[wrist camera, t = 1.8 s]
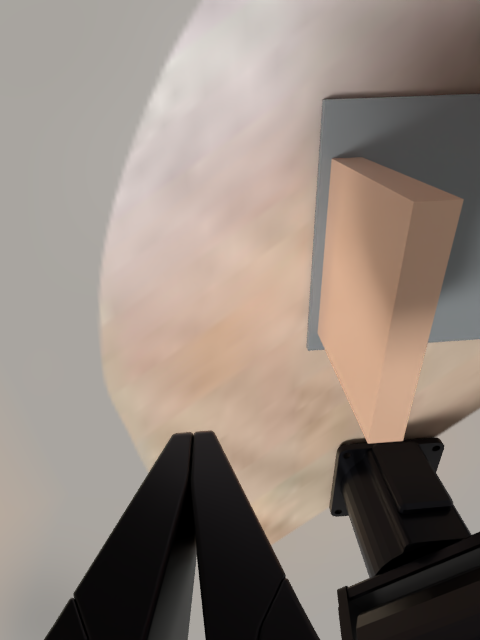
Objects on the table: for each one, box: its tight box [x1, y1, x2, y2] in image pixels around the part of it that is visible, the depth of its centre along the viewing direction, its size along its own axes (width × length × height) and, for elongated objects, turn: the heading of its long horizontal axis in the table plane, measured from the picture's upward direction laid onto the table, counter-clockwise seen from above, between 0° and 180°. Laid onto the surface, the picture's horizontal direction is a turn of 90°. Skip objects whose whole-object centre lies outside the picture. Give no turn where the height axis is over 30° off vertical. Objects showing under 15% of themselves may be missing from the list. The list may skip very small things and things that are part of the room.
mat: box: [307, 94, 480, 351], centre depth 17 cm, size 11×10×1 cm
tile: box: [318, 157, 464, 444], centre depth 14 cm, size 8×1×7 cm, turn 2°
